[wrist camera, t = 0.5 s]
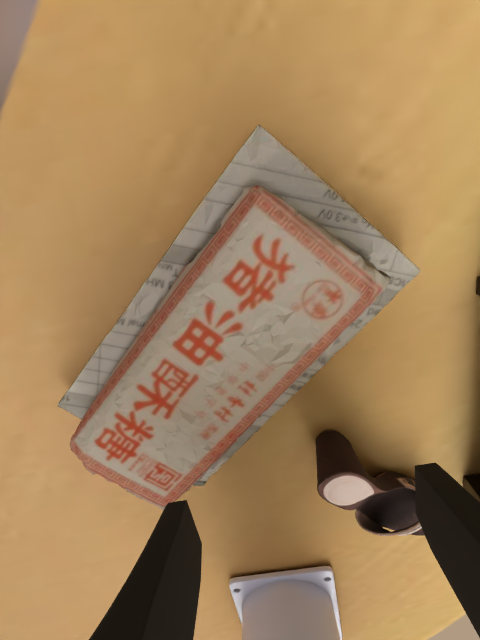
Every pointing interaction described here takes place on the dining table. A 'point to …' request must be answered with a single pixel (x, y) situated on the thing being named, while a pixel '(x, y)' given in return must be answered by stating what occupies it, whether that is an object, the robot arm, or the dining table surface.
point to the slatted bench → (476, 483)
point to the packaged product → (230, 324)
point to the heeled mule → (365, 489)
